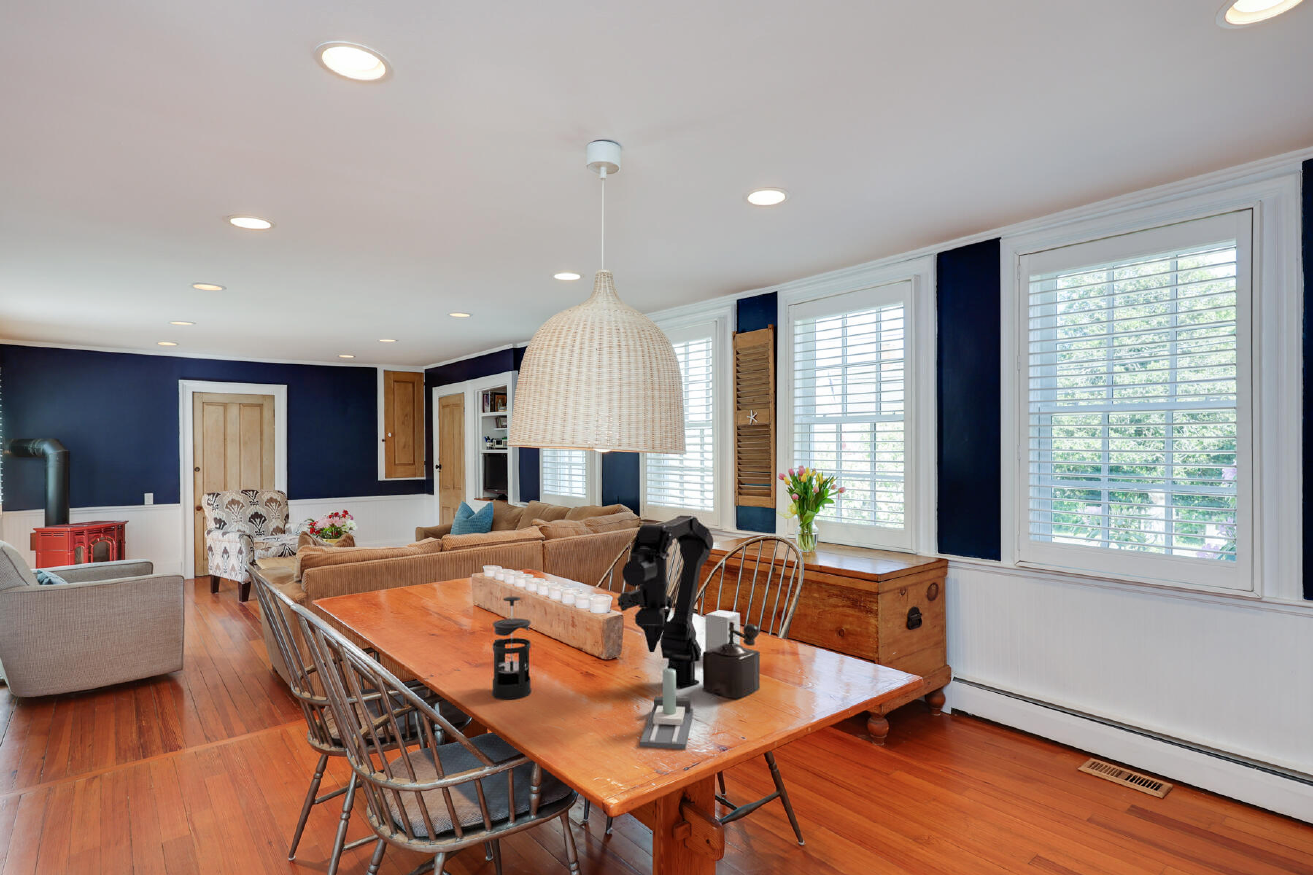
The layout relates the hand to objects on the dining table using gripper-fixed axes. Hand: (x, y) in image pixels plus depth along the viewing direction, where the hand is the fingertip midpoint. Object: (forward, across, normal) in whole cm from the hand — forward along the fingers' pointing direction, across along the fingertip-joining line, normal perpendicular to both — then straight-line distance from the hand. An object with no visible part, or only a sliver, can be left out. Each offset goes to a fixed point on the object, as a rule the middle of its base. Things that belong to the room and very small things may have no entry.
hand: (654, 646), depth 161 cm
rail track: (+13, +14, +5) cm, 20 cm away
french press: (+13, -2, -36) cm, 38 cm away
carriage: (+11, +13, +5) cm, 18 cm away
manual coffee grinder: (+13, -10, +19) cm, 25 cm away
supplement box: (+13, -37, +14) cm, 42 cm away
